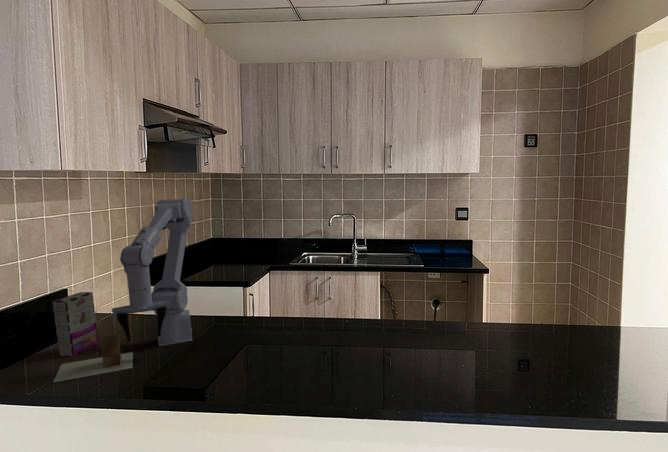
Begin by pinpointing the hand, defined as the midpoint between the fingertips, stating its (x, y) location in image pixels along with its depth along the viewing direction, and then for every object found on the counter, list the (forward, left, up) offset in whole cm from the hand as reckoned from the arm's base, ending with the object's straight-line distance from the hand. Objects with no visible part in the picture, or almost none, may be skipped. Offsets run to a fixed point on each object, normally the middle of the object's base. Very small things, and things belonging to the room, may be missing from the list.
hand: (144, 337), depth 132 cm
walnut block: (+8, 0, -5) cm, 10 cm away
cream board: (+12, 0, -6) cm, 14 cm away
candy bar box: (+18, -19, -6) cm, 27 cm away
